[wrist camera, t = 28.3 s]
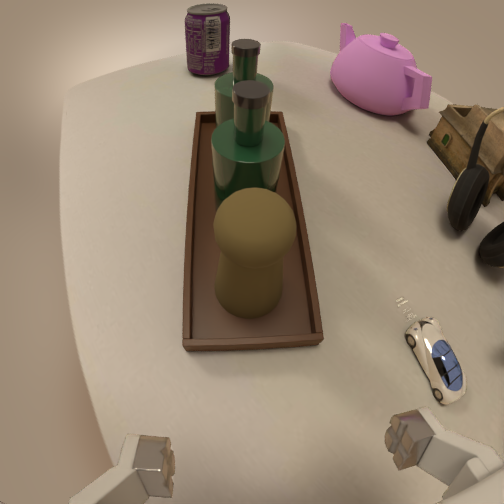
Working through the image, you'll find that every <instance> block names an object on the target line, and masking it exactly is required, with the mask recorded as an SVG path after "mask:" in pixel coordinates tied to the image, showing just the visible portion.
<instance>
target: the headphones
mask: <svg viewBox="0 0 504 504" xmlns="http://www.w3.org/2000/svg"><path fill="white" fill-rule="evenodd" d="M501 112H504V107H502V108H500V109H497V110H495V111H494V112H492V113H491V114H490V115H488V116H487V117H486V119H485V120H483V122H482V124H481V126H480V128H479V130H478V132H477V134H476V137H475V140H474V143H473V146H472V150H471V153H470V157H469V161H468V164H467V168H465V169H464V170H463V171H462V172H461V174H460V175H459V177H458V179H457V181H456V182H455V185H454V187H453V189H452V192H451V194H450V197H449V201H448V204H447V212H448V218H449V221H450V224H451V226H452V227H453V228H455V229H456V230H458V231H459V230H460V231H464V230H466V229H467V228H468V227H469V226H470V224H471V223H472V221H473V220H474V218H475V216H476V214H477V213H478V211H479V208H480V206H481V204H482V202H483V199H484V197H485V194H486V191H487V188H488V184H489V177H490V175H489V172H488V170H487V169H486V168H485V167H483V166H482V165H479V164H477V160H478V155H479V150H480V146H481V142H482V139H483V136H484V134H485V131H486V129H487V127H488V123H489V121H490V120H491V119H492V118H493V117H494V116H496V115H497V114H499V113H501ZM479 251H480V256H481V258H482V260H483V261H484V262H485V264H487V265H490V266H493V267H498V268H504V222H503V223H501V224H500V225H498V226H497V227H495V228H494V229H493V230H492V231H491V232H489V233H488V234H487V235H486V237H485V238H484V239H483V240H482V242H481V244H480V248H479Z"/></svg>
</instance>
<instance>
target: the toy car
mask: <svg viewBox="0 0 504 504" xmlns="http://www.w3.org/2000/svg"><path fill="white" fill-rule="evenodd" d="M400 299H402V297H401V298H400ZM403 300H404V298H403ZM396 301H398V299H397V300H396ZM399 301H400V300H399ZM405 301H407V300H405ZM401 303H403V302H401ZM404 303H405V302H404ZM404 303H403V304H404ZM398 305H400V304H398ZM407 308H408V307H407ZM404 310H405V309H404ZM409 310H411V309H409ZM406 312H407V311H406ZM404 313H405V312H404ZM410 314H412V313H410ZM410 314H409V315H410ZM415 316H416V315H415ZM405 317H407V316H405ZM411 317H412V316H411ZM409 318H410V317H409ZM413 318H414V316H413ZM422 320H424V321H428V322H426V324H424V322H423V324H424V325H423V326H422V329H421V326H420V325H419V323H418V322H415V323H414V324H412V325H411V326H410V327H409V329H408V330H407V332H406V334H408V335H407V336H406V340H407V343H408V344H409V345H410V346H411V347H415V346H416V347H415V348H414V349H413V351H414V353H415V354H416V356H417V358H418V360H419V362H420V364H421V366H422V367H423V369H424V371H425V373H426V375H427V376H428V378H429V379H430V382H431V386H432V388H435V389H434V390H433V394H434V396H435V398H436V399H437V400H441V401H440V403H442V404H445V405H448V404H451V403H453V402H455V401H456V400H458V399H459V398H460V397H461V396H462V395H463V394H464V393H465V391H466V387H467V379H466V375H465V373H464V371H463V370H462V369H461V367H460V364H459V362H458V360H457V358H456V356H455V354H454V352H453V351H452V349H451V346H450V345H449V343H448V342H447V340H446V339H445V338H444V336H443V333H442V329H441V327H440V324H439V322H438V321H437V320H436V319H435V318H433V317H426V318H424V319H421V321H422ZM407 321H409V320H407ZM421 321H420V320H419V322H420V323H421ZM405 322H406V321H405ZM421 324H422V323H421Z"/></svg>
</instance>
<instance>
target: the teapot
mask: <svg viewBox="0 0 504 504" xmlns="http://www.w3.org/2000/svg"><path fill="white" fill-rule="evenodd" d="M398 42H399V40H398V39H397V38H396V37H394V36H392V35H390V34H387V33H380V36H375V35H367V34H366V35H361V36H359V37H358V38H356V37H355V34H354V31H353V29H352V26H351V25H349V24H347V23H341V34H340V53H339V54H338V55H337V57H336V59H335V60H334V62H333V64H332V67H331V71H330V74H331V79H332V81H333V83H334V85H335V86H336V88H337V89H338V91H339V92H340V93H341V95H342V96H343V97H345V98H346V99H347V100H348V101H350V102H351V103H353V104H355V105H356V106H358V107H360V108H362V109H365V110H367V111H370V112H373V113H376V114H381V115H387V116H394V115H399V114H403V113H405V112H408V111H410V110H414V109H426V108H428V107H429V100H430V92H431V82H432V77H431V76H430V75H428V74H426V73H424V72H422V71H420V70H419V69H417V66H416V63H415V60H414V57H413V55H412V54H411V53H410V52H409V51H408V50H407V49H406V48H404V47H403V46H401V45H399V44H398Z"/></svg>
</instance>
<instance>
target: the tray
mask: <svg viewBox="0 0 504 504" xmlns="http://www.w3.org/2000/svg"><path fill="white" fill-rule="evenodd" d="M269 122H270V123H272V124H274V125H275V126H277V127H278V128H279V129H280V130H281V132H282V133H283V135H284V138H285V146H284V151H283V157H282V163H281V169H280V174H279V180H278V186H277V192H276V193H277V194H278V195H279V196H281V197H282V198H283V199H284V200H285V201H286V202H287V203H288V205H289V206H290V207H291V209H292V210H293V213H294V216H295V219H296V237H295V240H294V242H293V244H292V246H291V248H290V250H289V252H288V253H287V254H286V255H285V256H284V257H283V288H282V296H281V298H280V300H279V302H278V304H277V306H276V307H275V308H274V309H273V310H272V311H271V312H270V313H268V314H266V315H264V316H262V317H259V318H252V319H246V318H240V317H236V316H234V315H232V314H230V313H228V312H227V311H226V310H225V309H224V308H223V307H222V306H221V305H220V303H219V301H218V299H217V298H216V295H215V288H214V284H215V279H216V274H217V269H218V264H219V258H220V253H221V250H220V248H219V246H218V244H217V242H216V241H215V234H214V226H213V223H214V219H215V216H216V210H215V199H214V183H213V165H212V146H211V137H212V133H213V131H214V130H215V129H216V121H215V112H196V120H195V129H194V138H193V148H192V158H191V169H190V181H189V194H188V207H187V222H186V240H185V260H184V287H183V347H184V349H185V350H186V351H228V350H253V349H272V348H287V347H300V346H311V345H318V344H319V343H320V342H321V341H322V340H323V339H324V337H323V333H322V332H323V330H322V322H321V315H320V308H319V302H318V295H317V288H316V282H315V276H314V270H313V263H312V257H311V252H310V246H309V240H308V234H307V229H306V223H305V218H304V213H303V207H302V202H301V197H300V192H299V187H298V182H297V177H296V172H295V167H294V162H293V158H292V153H291V148H290V144H289V139H288V135H287V130H286V126H285V121H284V117H283V113H282V112H272V111H271V113H270V121H269Z"/></svg>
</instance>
